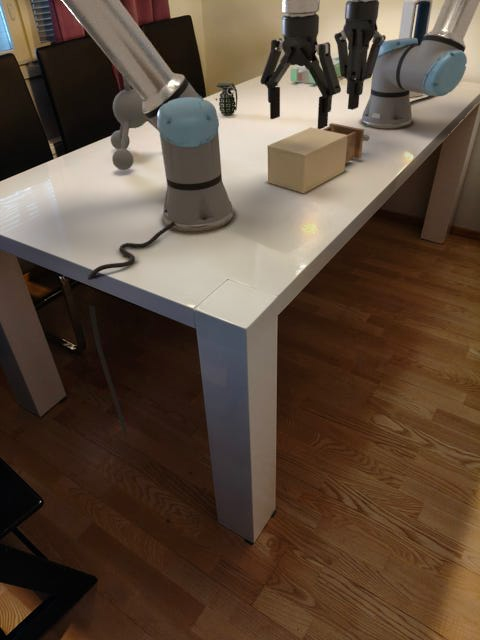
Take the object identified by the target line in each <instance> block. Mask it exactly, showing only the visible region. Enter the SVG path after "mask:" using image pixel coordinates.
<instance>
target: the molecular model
mask: <svg viewBox="0 0 480 640" xmlns="http://www.w3.org/2000/svg"><path fill="white" fill-rule="evenodd" d="M122 81H123V86H124V89H123V90H121V91H119V92H118V93H117V94H116V95H115V97H114V99H113V102H112V112H113V115H114V117H115V119H116V121H117V122H118V123H120V127H119V129H118V130H115V131H114V132H113V133H111V136H110V144H111V145H112V147H113V148H114V149H115V151H114V152H113V153H112V156H111V160H112V163H113V165H114V167H115V168H117V169H118V170H121V171H128V170H129V169H131V167H132V166H133V164H134V156H133V153H131V151H130V150H128V147H129V146H130V141H131V140H130V136H129V133H130V129H138V128H141V127H142V126H144V125H145V123H147V122H148V123H149V124H150V125H151V126H152V127H154V128H155V126H154V125H153V124H152V123H151V121H150V120H149V119H148V118H147V116H146V115H145V114H144V113H143V111H142V108H143V101H142V99H141V98H140V97H139V95H138V94H137V93H136V92H135V90H134V89H133V88H132V87H131V85H130V84H129V83H128V82H127V80H126V79H125V78H124V77H123V76H122Z"/></svg>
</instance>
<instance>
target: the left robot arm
mask: <svg viewBox="0 0 480 640" xmlns="http://www.w3.org/2000/svg"><path fill="white" fill-rule="evenodd" d="M61 1H62V2H63V4H64V5H65V6H66V7H67V9H68V10H69V11H70V12H71V14H72V15H73V16H74V17H75V19H76V20H77V21H78V23H79V24H80V25H81V27H83V29H84V30H85V31H86V32H87V33H88V35H89V36H90V37H91V39H92V40H93V41H94V42H95V43H96V45H97V46H98V47H99V48H100V50H101V51H102V52H103V53H104V54H105V56H106V57H107V58H108V60H109V61H110V63H112V65H113V66H114V67H115V68H116V69H117V71H118V72H119V73H120V75H121V76H122V78H123V77H124V78H125V79H126V80H127V82H128V83H129V84H130V88H131V89H134V90H135V92H136V93H137V94H138V95H139V97H140V98H141V99H142V101H143V108H142V111H143V113H144V114H145V115H146V116H147V118H148V119H149V120H150V121H151V123H152V124H153V125H154V126H155V127H154V126H153V125H152V126H153V127H154V129H156V130H157V131H158V133H159V139H160V145H161V153H162V159H163V168H164V174H165V180H166V190H165V191H166V192H165V196H164V203H163V207H162V218H163V222H164V224H165V226H164V227H163V228H162V229H160V230H159V231H157V232H156V233H155V234H153V236H152V237H151V238H150V239H149V240H147V241H145V242H142V243H132V242H125V243H123V244H121V245H120V246H119V248H118V251H119V252H120V253H121V254H122V255H124V256H126V257H128V258H129V259H128V260H127V261H123V262H113V263H105V264H102V265H99V266H97V267H96V268H94V269H93V270H92V271H91V272H90V273H89V275H88V277H87V280H92V279H94V278H95V277H96V276H97V274H98V273H99V272H102V271H104V270H109V269H117V268H118V269H119V268H126V267H129V266H131V265H132V264H134V262H135V260H136V257H135V256H134V254H132V253H131V252H129V251H127V250H125V249H127V248H134V249H142V248H146V247H148V246H151V245H152V244H153V243H154V242H156V240H157V239H158V238H160V237H161V236H162V235H163V234H165V233H166V232H168V231H169V230H173V231H177V232H180V233H190V234H191V233H192V234H193V233H194V234H195V233H196V234H197V233H205V232H206V233H207V232H210V231H215V230H216V229H220V228H222V227H224V226H226V225H227V224H228V223H230V221H231V220H232V218H233V216H234V212H233V211H234V210H233V205H232V201H231V200H230V197H229V195H228V192H227V190H226V187H225V184H224V182H223V175H222V174H223V173H222V164H221V163H222V161H221V147H220V134H219V127H220V121H219V120H220V119H219V117H218V114H217V109H216V106H215V105H214V104H213V103H212V102H211V101H209V100H207V99H204V98H203V97H202V96H201V95H200V94H199V92H196V90H195V88H194V87H193V86H192V85H191V83H190V82H189V80H188V79H187V78H186V77H185V75H184V74H181V73H175V72H173V71H172V69H171V68H170V67H169V65H168V64H167V63H166V62H165V60H164V58H163V57H162V56H161V54H160V53H159V52H158V50H157V49H156V48H155V46H154V45H153V44H152V42H151V40H149V38H148V36H146V34H145V33H144V31H143V30H142V28H141V27H140V26H139V25H138V24H137V22H136V20H134V18H133V17H132V15H131V14H130V12H129V11H128V10H127V8H126V7H125V6H124V5H123V3H122V1H121V0H61ZM320 1H321V0H281V12H282V14H284V15H283V16H282V18H281V36H282V37H283V38H281V37H278V38H274V39H272V40H271V41H270V52H269V55H268V58H267V59H266V60H267V61H266V63H265V65H264V69H263V72H262V75H261V77H260V84H261V85H264V86H266V88H267V102H268V103H269V119H270V120H275V119H278V118H280V117H281V87H280V86H279V83H280V82H281V80H282V79H283V77H284V75H285V74H286V73H287V71H288V70H289V68H290V66H295V65H299V66H305V67H306V69H308V70H309V72H310V74H311V75H312V77H313V79H314V81H315V83H316V84H315V85H316V86H317V88H318V90H319V93H320V94H321V96H319V97H318V107H317V108H318V109H317V128H316V129H321V130H322V129H325V128H327V127H328V125H329V124H328V123H329V122H328V121H329V113H330V112H331V111H332V105H333V104H332V102H333V97H334V95H338V94H340V93H341V92H342V88H341V85H340V81H339V77H338V78H337V74H336V71H335V68H334V64H333V61H332V58H333V57H332V55H331V54H332V53H331V52H332V51H331V43H330V42H329V41H327V42H323V43H318V36H319V30H320V29H319V27H320V16H319V14H317V13H318V12H319V11H320ZM282 51H283V53H284V54H283V55H282V57H281V54H282ZM317 56H318V57H317ZM280 57H281V59H280ZM318 58H319V59H320V63H321V66H322V69H323V71H322V69H321V67H320V65H319V60H318ZM279 60H280V61H279ZM311 61H312V62H311ZM89 314H90V320H91V325H92V330H93V335H94V340H95V345H96V349H97V352H98V356H99V359H100V362H101V366H102V369H103V373H104V375H105V379H106V382H107V384H108V388H109V390H110V391H109V392H110V394H111V397H112V400H113V403H114V407H115V409H116V412H117V416H118V420H119V422H120V425H121V429H122V433H123V435H124V436H128V434H129V433H128V429H127V426H126V422H125V419H124V415H123V413H122V409H121V406H120V403H119V400H118V396H117V394H116V390H115V387H114V385H113V384H114V383H113V382H112V381H113V380H112V378H111V375H110V372H109V368H108V365H107V362H106V358H105V355H104V351H103V347H102V343H101V338H100V333H99V329H98V324H97V319H96V317H97V315H96V309H95V306H93V305H91V304H89Z"/></svg>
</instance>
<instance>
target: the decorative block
mask: <svg viewBox="0 0 480 640" xmlns="http://www.w3.org/2000/svg"><path fill="white" fill-rule="evenodd" d="M317 58H318V60H319V65H320V67H321V69H322V66H321V63H320V59H319V57H317ZM331 58H332V61H333V64H334V68H335V71H336V74H337V78H338V79H339V78H340V77H341V73H340V64H339V57H331ZM311 62H312V61H311ZM322 71H323V69H322ZM341 78H342V77H341ZM290 82H294V83H302V84H303V83H305V84H313V85H316V83H315V81H314V79H313V77H312V75H311V74H310V72H309V70H308V69H306V67H305V66H299V65H292V67H291V68H290Z"/></svg>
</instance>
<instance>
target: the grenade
mask: <svg viewBox="0 0 480 640" xmlns="http://www.w3.org/2000/svg"><path fill="white" fill-rule="evenodd" d="M215 87H217V88H219V89H221V93H219V97H218V101H219V102H218V106H219V108H218V109H219V112H220V114H221V115H222V116H224V117H231V116H233V115H234V113H235V112H236V111H237V108H238V89H237V87H236V85H235V84H234V83H233V82H218V83H217V84H216V86H215ZM232 91H233V92H232ZM234 94H235V96H234Z"/></svg>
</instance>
